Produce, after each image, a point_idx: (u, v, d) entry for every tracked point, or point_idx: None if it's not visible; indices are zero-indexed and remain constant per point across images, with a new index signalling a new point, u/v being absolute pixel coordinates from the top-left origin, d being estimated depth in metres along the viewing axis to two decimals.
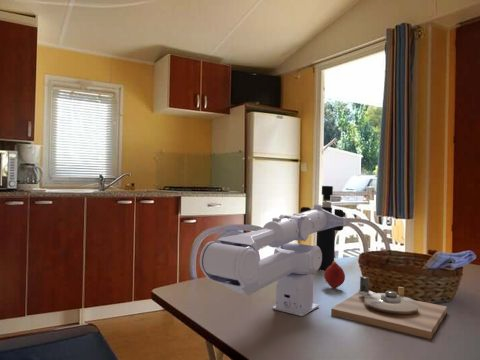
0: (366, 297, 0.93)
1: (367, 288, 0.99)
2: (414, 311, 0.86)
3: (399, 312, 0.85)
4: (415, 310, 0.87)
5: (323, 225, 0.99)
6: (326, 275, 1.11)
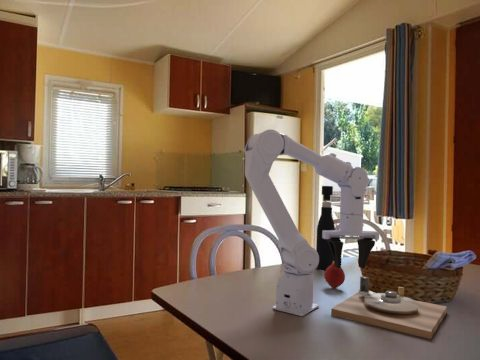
0: (366, 297, 0.93)
1: (367, 288, 0.99)
2: (414, 311, 0.86)
3: (399, 312, 0.85)
4: (415, 310, 0.87)
5: None
6: (326, 275, 1.11)
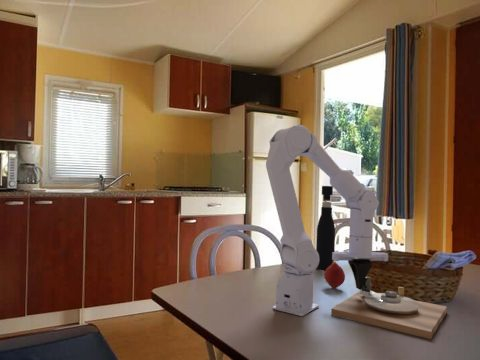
0: (366, 297, 0.93)
1: (368, 288, 0.99)
2: (413, 311, 0.86)
3: (397, 312, 0.85)
4: (414, 310, 0.87)
5: None
6: (326, 275, 1.11)
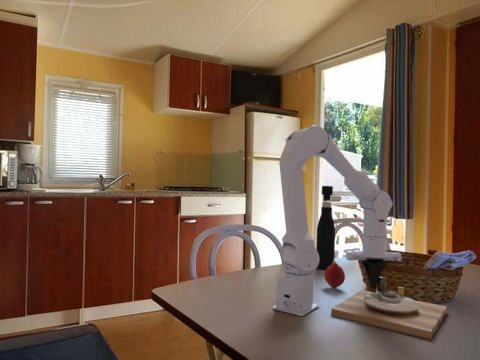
0: (369, 294, 0.95)
1: (382, 288, 0.99)
2: (403, 312, 0.85)
3: (384, 310, 0.86)
4: (405, 311, 0.85)
5: None
6: (326, 275, 1.11)
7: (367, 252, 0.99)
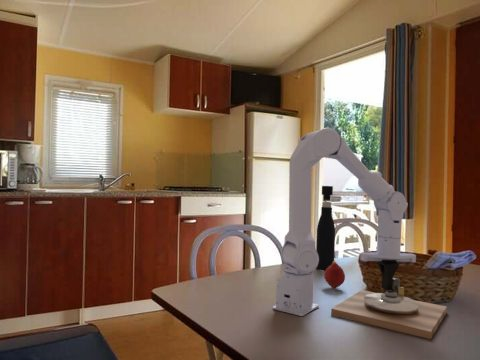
0: (375, 293, 0.97)
1: (394, 289, 0.98)
2: (393, 311, 0.86)
3: (375, 308, 0.88)
4: (395, 311, 0.86)
5: None
6: (326, 275, 1.11)
7: (382, 253, 0.98)
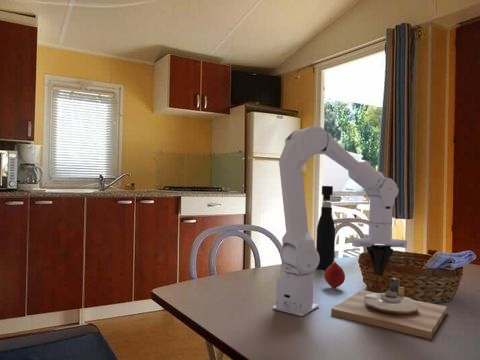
0: (375, 293, 0.97)
1: (394, 289, 0.98)
2: (393, 311, 0.86)
3: (375, 308, 0.88)
4: (395, 311, 0.86)
5: None
6: (326, 275, 1.11)
7: (373, 239, 1.00)
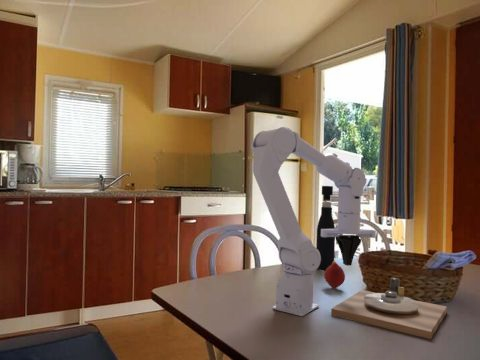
0: (375, 293, 0.97)
1: (394, 289, 0.98)
2: (393, 311, 0.86)
3: (375, 308, 0.88)
4: (395, 311, 0.86)
5: (359, 222, 1.00)
6: (326, 275, 1.11)
7: (341, 229, 0.99)
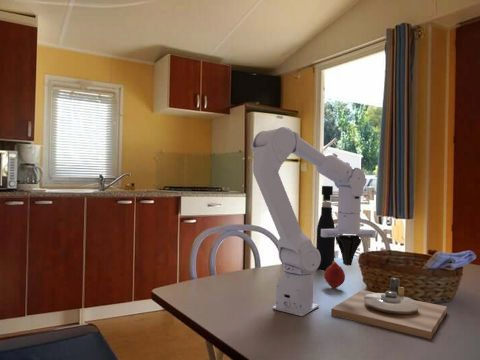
0: (375, 293, 0.97)
1: (394, 289, 0.98)
2: (393, 311, 0.86)
3: (375, 308, 0.88)
4: (395, 311, 0.86)
5: (359, 222, 1.00)
6: (326, 275, 1.11)
7: (341, 229, 0.99)
